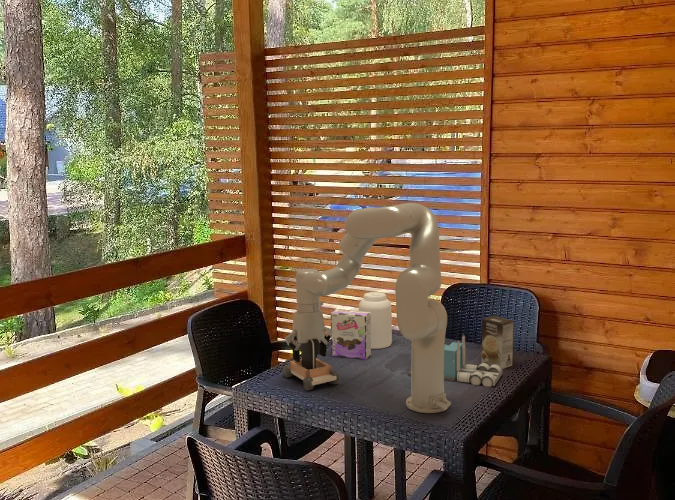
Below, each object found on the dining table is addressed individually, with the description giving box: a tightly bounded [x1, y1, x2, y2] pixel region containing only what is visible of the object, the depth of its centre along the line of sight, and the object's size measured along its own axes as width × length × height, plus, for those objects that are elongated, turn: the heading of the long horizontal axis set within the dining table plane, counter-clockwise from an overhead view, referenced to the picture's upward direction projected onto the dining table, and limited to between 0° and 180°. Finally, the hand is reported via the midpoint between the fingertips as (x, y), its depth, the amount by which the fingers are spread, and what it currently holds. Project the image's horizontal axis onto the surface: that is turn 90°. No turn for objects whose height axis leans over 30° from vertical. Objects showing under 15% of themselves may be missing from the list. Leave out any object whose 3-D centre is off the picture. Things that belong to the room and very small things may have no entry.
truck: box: [407, 334, 503, 388], centre depth 221 cm, size 12×29×15 cm, turn 64°
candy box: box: [330, 308, 372, 360], centre depth 244 cm, size 14×6×16 cm, turn 67°
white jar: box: [358, 291, 393, 350], centre depth 256 cm, size 12×12×20 cm
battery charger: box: [300, 339, 320, 370], centre depth 219 cm, size 7×4×11 cm, turn 33°
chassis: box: [282, 357, 340, 392], centre depth 220 cm, size 18×11×6 cm, turn 32°
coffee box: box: [480, 315, 515, 370], centre depth 231 cm, size 9×6×16 cm
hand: (309, 358), depth 219 cm, fingers open, 9 cm apart
